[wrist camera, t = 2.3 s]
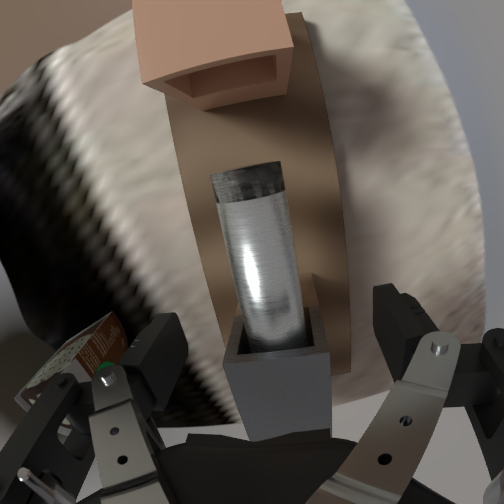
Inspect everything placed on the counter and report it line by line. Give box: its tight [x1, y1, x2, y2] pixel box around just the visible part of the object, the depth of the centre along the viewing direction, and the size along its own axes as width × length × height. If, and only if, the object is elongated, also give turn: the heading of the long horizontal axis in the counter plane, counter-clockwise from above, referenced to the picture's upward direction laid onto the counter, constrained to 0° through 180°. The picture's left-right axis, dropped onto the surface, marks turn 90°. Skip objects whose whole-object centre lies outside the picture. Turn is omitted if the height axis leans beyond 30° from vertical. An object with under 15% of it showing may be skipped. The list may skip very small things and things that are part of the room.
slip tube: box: [210, 161, 308, 354], centre depth 15 cm, size 17×3×3 cm, turn 11°
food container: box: [15, 311, 128, 436], centre depth 22 cm, size 12×6×10 cm, turn 123°
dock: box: [164, 12, 351, 375], centre depth 18 cm, size 28×10×6 cm, turn 11°
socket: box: [132, 0, 294, 111], centre depth 12 cm, size 5×5×9 cm
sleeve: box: [222, 305, 332, 442], centre depth 16 cm, size 9×5×4 cm, turn 11°
